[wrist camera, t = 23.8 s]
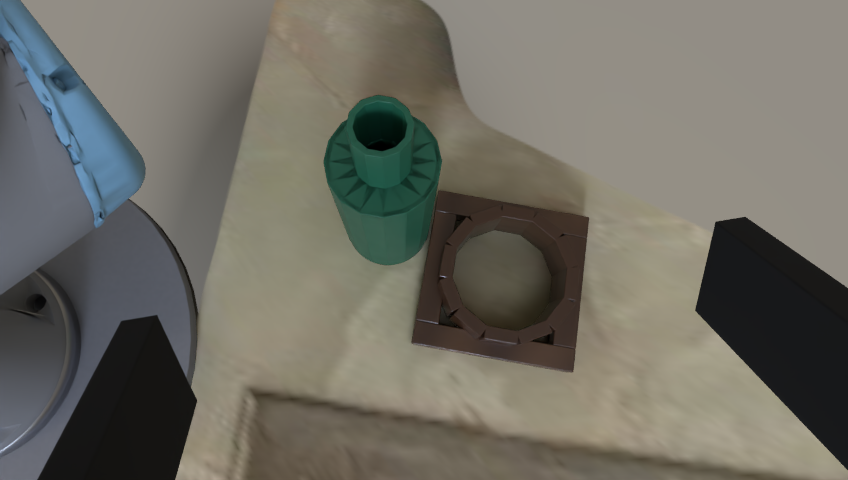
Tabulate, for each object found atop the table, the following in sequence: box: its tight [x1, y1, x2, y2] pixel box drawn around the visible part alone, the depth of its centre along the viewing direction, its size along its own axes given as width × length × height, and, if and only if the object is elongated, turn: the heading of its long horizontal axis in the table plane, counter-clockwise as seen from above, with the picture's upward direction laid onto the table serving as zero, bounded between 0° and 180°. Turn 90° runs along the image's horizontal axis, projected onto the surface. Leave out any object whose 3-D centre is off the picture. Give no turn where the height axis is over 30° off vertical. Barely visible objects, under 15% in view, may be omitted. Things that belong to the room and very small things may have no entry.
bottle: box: [324, 95, 442, 265], centre depth 35 cm, size 7×7×18 cm
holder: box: [412, 190, 589, 372], centre depth 41 cm, size 13×13×4 cm
